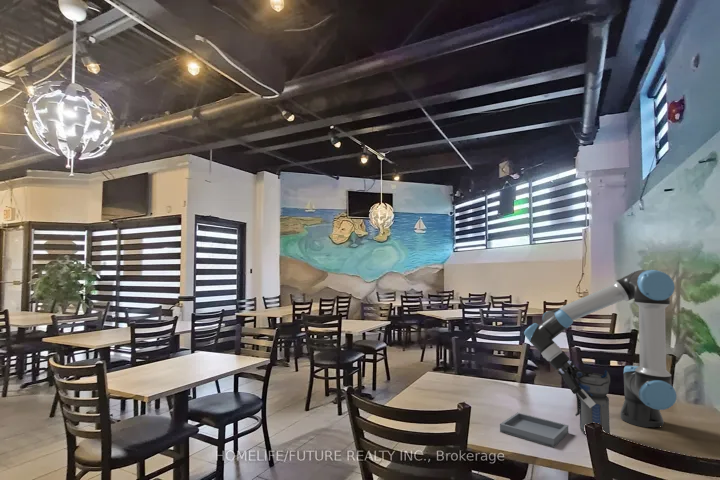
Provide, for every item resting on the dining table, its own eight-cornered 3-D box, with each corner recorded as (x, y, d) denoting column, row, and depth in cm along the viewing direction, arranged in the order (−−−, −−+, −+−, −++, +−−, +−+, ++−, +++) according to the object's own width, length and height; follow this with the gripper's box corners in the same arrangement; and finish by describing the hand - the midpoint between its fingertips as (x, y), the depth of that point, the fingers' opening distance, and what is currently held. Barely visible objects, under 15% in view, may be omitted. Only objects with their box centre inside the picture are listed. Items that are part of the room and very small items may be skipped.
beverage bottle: (571, 426, 165) (570, 364, 166) (608, 431, 160) (606, 367, 162) (575, 436, 155) (573, 370, 157) (614, 441, 150) (612, 373, 152)
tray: (568, 433, 158) (568, 425, 158) (553, 447, 145) (553, 439, 145) (517, 419, 171) (517, 412, 172) (500, 431, 158) (499, 423, 158)
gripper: (558, 357, 179) (597, 399, 168) (539, 367, 161) (581, 415, 149) (571, 347, 176) (611, 389, 164) (552, 355, 157) (597, 404, 146)
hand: (597, 401), depth 157 cm, fingers open, 13 cm apart
